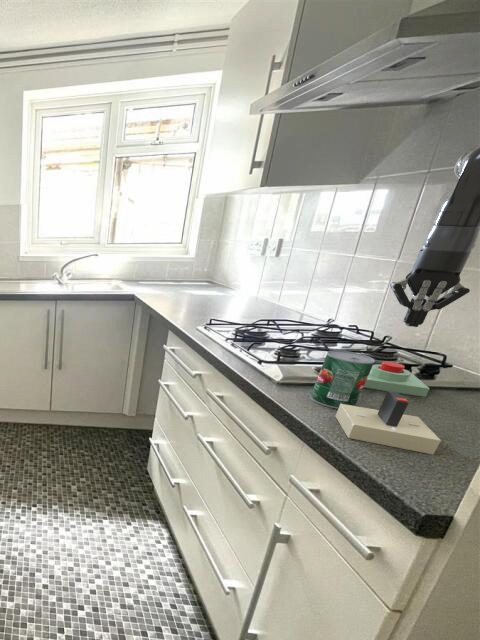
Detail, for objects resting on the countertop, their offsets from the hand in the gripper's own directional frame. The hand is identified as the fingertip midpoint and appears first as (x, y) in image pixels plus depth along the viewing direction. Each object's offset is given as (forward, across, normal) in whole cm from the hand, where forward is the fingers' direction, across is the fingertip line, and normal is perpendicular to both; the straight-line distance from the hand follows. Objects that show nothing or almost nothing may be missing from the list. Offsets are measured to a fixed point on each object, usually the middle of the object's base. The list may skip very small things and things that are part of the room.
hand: (411, 325), depth 97 cm
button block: (+15, 0, 0) cm, 15 cm away
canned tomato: (+15, +14, +19) cm, 28 cm away
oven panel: (+15, +9, +32) cm, 36 cm away
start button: (+11, 0, 0) cm, 11 cm away
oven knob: (+12, +9, +32) cm, 35 cm away
